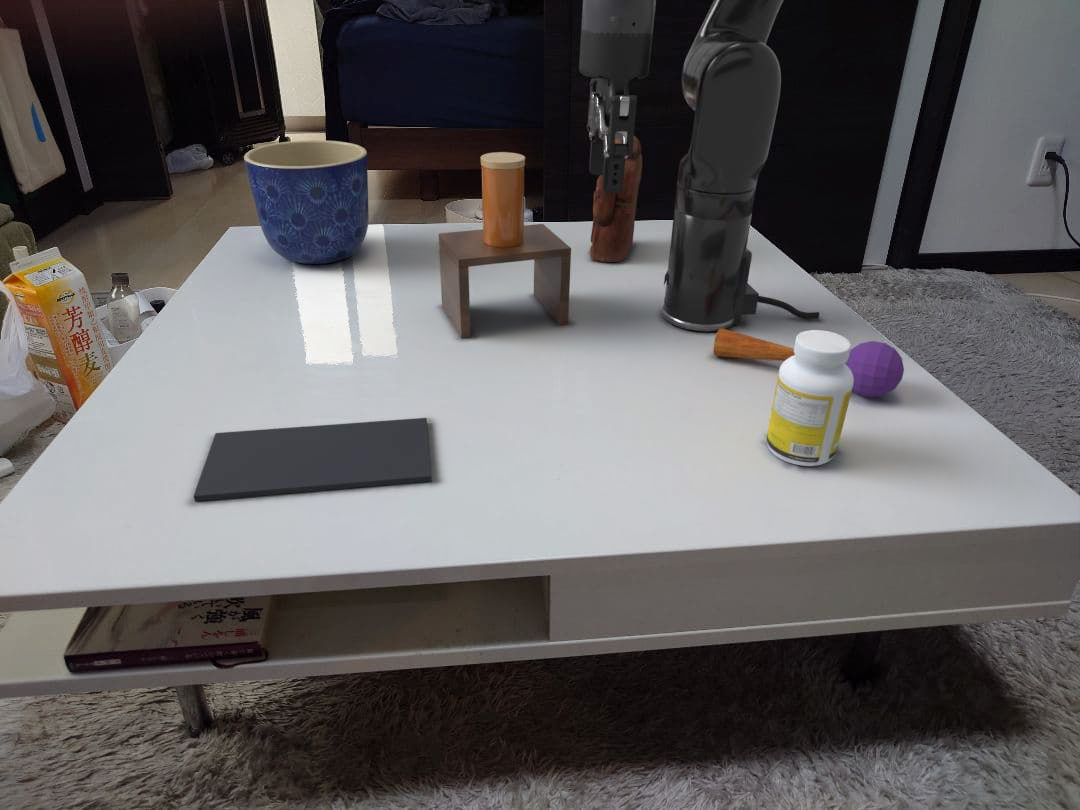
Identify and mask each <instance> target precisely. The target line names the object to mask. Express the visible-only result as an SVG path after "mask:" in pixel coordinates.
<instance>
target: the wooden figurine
mask: <svg viewBox="0 0 1080 810" xmlns="http://www.w3.org/2000/svg"><path fill="white" fill-rule="evenodd" d="M615 144H621V140H619V139H615ZM642 170H643V156H642V144H641V142H640V140H639V139H638V137H637V136H635V135H634V139H633V153H632V156H628V158H627V159H625V170H624V180H623V190H622V192H621V193H605V192H604V191H603V190H602V180H603V175H598V178H597V180H596V187H595V190H594V192H593V205H592V216H593V219H592V226H591V233H590V243H591V246H590V248H589V255H590V260H593V261H596V262H607V263H617V262H620V261H622V260H625V259H626V258H627V256H628V254H629V252H630V249H631V248H632V246H633V243H634V232H635V222H636V211H637V203H638V196H639V187H640V184H641V180H642V172H643V171H642Z"/></svg>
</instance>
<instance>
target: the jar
mask: <svg viewBox="0 0 1080 810" xmlns="http://www.w3.org/2000/svg"><path fill="white" fill-rule="evenodd" d="M480 165H481V199H482V200H481V201H482V202H481V203H482V204H481V205H482V206H481V211H482V229H483V241H484V243H486V244H488V245H491V246H495V247H512V246H517V245H520V244H521V243H523V241H524V225H525V166H526V156H525V155H523V154H521V153H516V152H508V151H499V152H498V151H497V152H488V153H485V154H482V155H481V156H480Z"/></svg>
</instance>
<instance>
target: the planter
mask: <svg viewBox="0 0 1080 810" xmlns="http://www.w3.org/2000/svg"><path fill="white" fill-rule="evenodd" d="M243 160H244V165H245V168H246V172H247V176H248V180H249V185H250V189H251V193H252V197H253V200H254V204H255V209H256V213H257V217H258V221H259V224H260V225H259V226H260V228H261V231H262V233H263V235H264V238H265V240H266V241H267V243H268V245H269V246H270V247H271V249H272V250H274V252H276V253H277V254H278V255H279V256H281V257H282V258H284V259H286V260H288V261H290V262H294V263H298V264H304V265H324V264H331V263H334V262H335V263H336V262H339V261H342V260H345V259H347V258H349V257H351V256H353V254H355V253H357V251H358V250H359V249H360V248H361V246H362V245H363V243H364V242H365V239H366V237H367V233H368V228H369V217H370V216H369V181H368V180H369V179H368V178H369V177H368V176H369V175H368V152H367V150H366V148H365V147H363V146H361V145H359V144H355V143H351V142H345V141H339V140H338V141H337V140H322V139H321V140H320V139H319V140H317V139H315V140H314V139H311V140H310V139H308V140H293V141H281V142H276V143H271V144H266V145H261V146H258V147H255V148H253V149H250V150H249V151H247V152H246V153H245V154H244V155H243Z"/></svg>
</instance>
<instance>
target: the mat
mask: <svg viewBox="0 0 1080 810" xmlns="http://www.w3.org/2000/svg"><path fill="white" fill-rule="evenodd" d="M428 429H429V428H428V418H427V417H419V418H418V417H417V418H403V419H391V420H389V419H388V420H377V421H375V420H374V421H365V422H362V421H361V422H350V423H349V422H348V423H334V424H323V425H307V426H295V427H292V426H291V427H280V428H279V427H278V428H268V429H254V430H253V429H252V430H240V431H239V430H238V431H224V432H215V434H214V437H213V439H212V442H211V445H210V448H209V451H208V452H207V453H208V454H207V456H206V458H205V462H204V465H203V468H202V471H201V474H200V476H199V479H198V482H197V485H196V488H195V490H194V494H193V500H194V502H202V501H203V502H204V501H214V500H215V501H217V500H226V499H237V498H238V499H239V498H250V497H259V496H260V497H263V496H272V495H287V494H297V493H298V494H299V493H308V492H319V491H331V490H344V489H354V488H355V489H356V488H366V487H369V488H370V487H379V486H391V485H403V484H413V483H425V482H432V481H433V477H432V466H431V454H430V453H431V452H430V444H429V442H430V441H429V430H428Z"/></svg>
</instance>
